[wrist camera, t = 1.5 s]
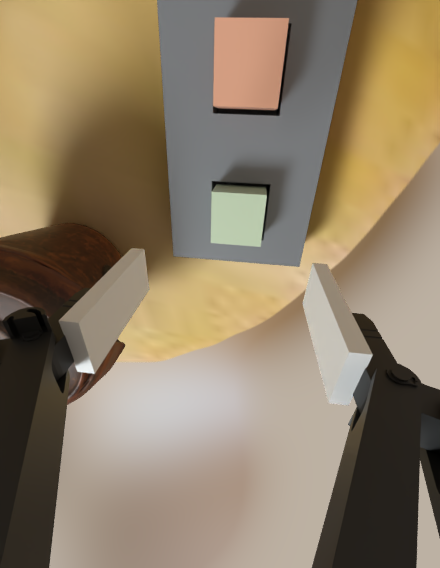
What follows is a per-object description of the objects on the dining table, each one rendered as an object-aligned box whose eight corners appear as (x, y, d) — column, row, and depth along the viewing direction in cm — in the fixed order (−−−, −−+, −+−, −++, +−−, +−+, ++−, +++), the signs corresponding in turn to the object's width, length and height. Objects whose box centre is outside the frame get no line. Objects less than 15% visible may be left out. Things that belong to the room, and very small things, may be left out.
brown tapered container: (120, 339, 44) (49, 452, 29) (4, 267, 39) (-155, 358, 24) (179, 271, 36) (123, 379, 21) (42, 169, 31) (-165, 212, 16)
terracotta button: (220, 33, 20) (214, 17, 17) (284, 34, 20) (289, 18, 17) (218, 108, 23) (213, 105, 20) (274, 110, 22) (277, 108, 19)
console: (162, -259, 16) (133, -376, 12) (398, -277, 15) (447, -413, 11) (182, 241, 34) (173, 256, 30) (294, 249, 32) (299, 266, 29)
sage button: (216, 184, 26) (211, 191, 23) (265, 186, 25) (266, 195, 23) (215, 230, 28) (210, 243, 25) (260, 233, 28) (260, 246, 25)
